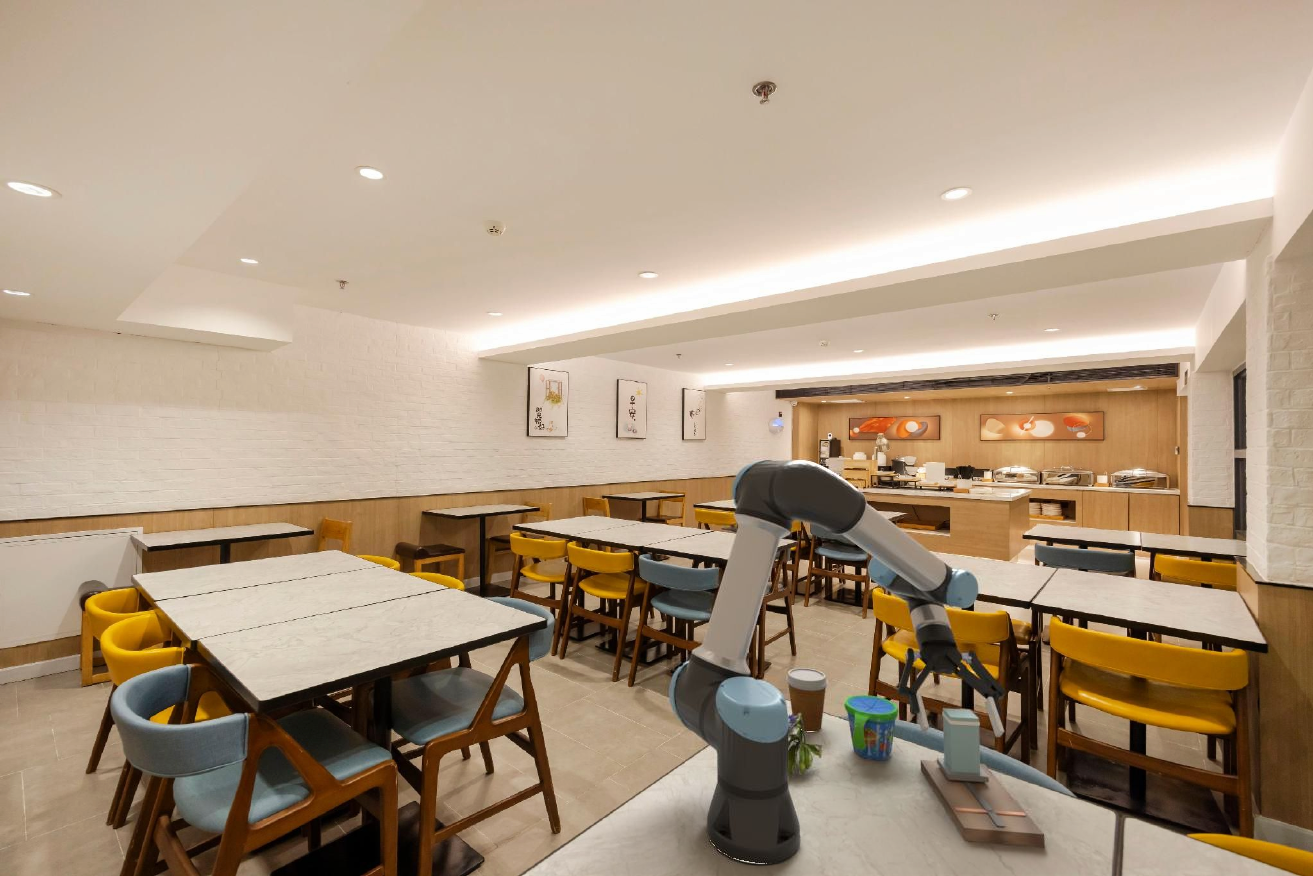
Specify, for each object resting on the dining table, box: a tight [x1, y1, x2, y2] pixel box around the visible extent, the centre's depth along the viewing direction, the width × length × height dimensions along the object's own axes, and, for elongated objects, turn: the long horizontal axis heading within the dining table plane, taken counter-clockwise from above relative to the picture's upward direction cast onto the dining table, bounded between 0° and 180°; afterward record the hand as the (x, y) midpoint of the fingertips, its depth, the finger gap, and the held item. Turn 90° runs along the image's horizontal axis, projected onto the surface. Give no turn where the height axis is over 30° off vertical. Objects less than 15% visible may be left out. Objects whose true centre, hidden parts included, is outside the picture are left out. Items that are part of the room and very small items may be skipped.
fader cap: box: [936, 707, 989, 782], centre depth 109 cm, size 7×6×11 cm
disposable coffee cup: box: [785, 667, 829, 732], centre depth 134 cm, size 10×10×12 cm
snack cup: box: [844, 694, 899, 761], centre depth 122 cm, size 16×10×10 cm
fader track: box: [920, 759, 1046, 848], centre depth 103 cm, size 12×22×2 cm, turn 172°
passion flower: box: [788, 713, 823, 777], centre depth 118 cm, size 11×11×12 cm
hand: (962, 732), depth 110 cm, fingers open, 13 cm apart
